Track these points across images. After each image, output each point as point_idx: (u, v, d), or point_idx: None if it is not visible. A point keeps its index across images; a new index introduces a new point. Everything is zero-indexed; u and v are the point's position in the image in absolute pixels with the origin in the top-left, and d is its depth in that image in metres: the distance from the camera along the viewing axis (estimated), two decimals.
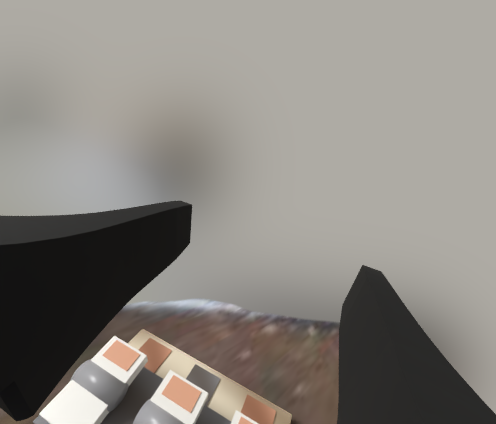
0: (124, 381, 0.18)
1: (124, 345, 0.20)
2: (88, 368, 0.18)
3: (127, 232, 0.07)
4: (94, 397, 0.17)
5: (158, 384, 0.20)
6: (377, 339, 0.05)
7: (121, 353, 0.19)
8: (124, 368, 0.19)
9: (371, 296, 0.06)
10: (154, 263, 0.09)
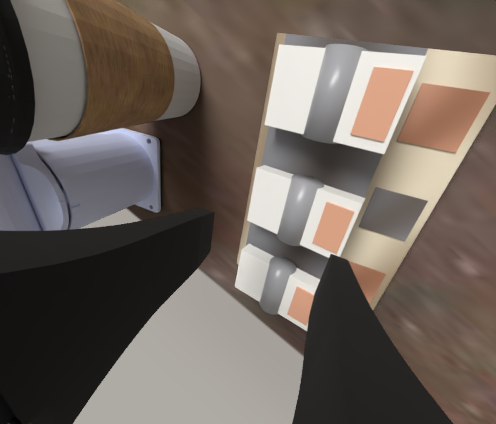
0: (335, 139, 0.11)
1: (401, 97, 0.09)
2: (342, 64, 0.10)
3: (155, 244, 0.07)
4: (307, 108, 0.11)
5: (362, 173, 0.13)
6: (330, 319, 0.06)
7: (383, 102, 0.09)
8: (355, 126, 0.10)
9: (331, 281, 0.07)
10: (178, 274, 0.09)
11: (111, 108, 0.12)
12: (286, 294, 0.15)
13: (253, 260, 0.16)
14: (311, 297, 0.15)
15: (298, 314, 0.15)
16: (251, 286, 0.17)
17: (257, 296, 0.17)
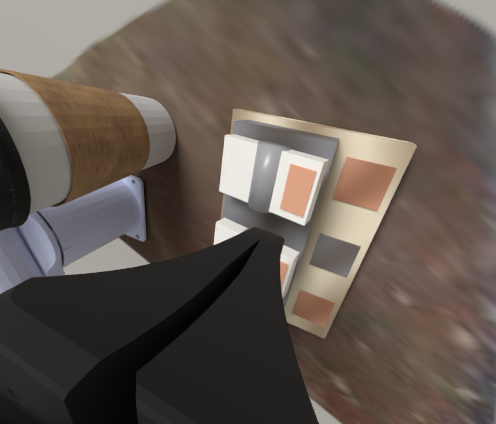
0: (270, 209, 0.14)
1: (310, 188, 0.12)
2: (267, 159, 0.12)
3: (227, 275, 0.06)
4: (249, 184, 0.14)
5: (301, 229, 0.16)
6: None
7: (299, 189, 0.12)
8: (283, 202, 0.13)
9: None
10: None
11: (93, 181, 0.15)
12: None
13: None
14: None
15: None
16: None
17: None
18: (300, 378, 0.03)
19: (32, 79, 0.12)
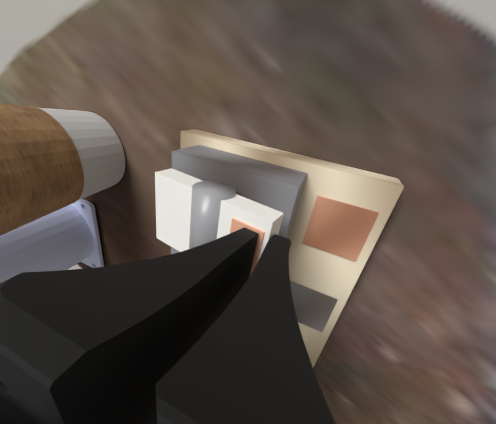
0: None
1: (258, 252, 0.09)
2: (203, 211, 0.09)
3: (220, 272, 0.06)
4: (187, 236, 0.11)
5: None
6: None
7: None
8: None
9: None
10: (230, 298, 0.08)
11: None
12: None
13: None
14: None
15: None
16: None
17: None
18: (318, 388, 0.03)
19: None
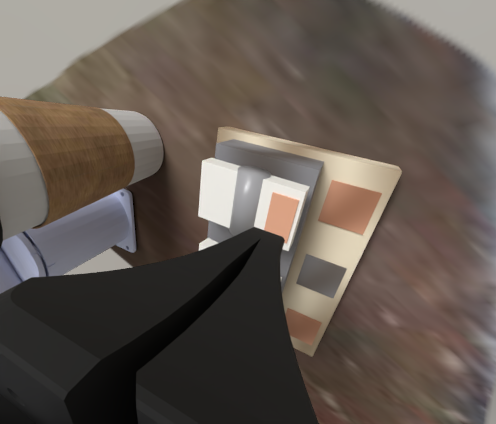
0: None
1: (293, 216, 0.12)
2: (249, 188, 0.12)
3: (227, 275, 0.06)
4: (230, 211, 0.13)
5: (284, 252, 0.15)
6: None
7: (282, 216, 0.12)
8: (266, 229, 0.13)
9: None
10: None
11: (73, 203, 0.14)
12: None
13: None
14: None
15: None
16: None
17: None
18: (300, 378, 0.03)
19: (6, 104, 0.12)
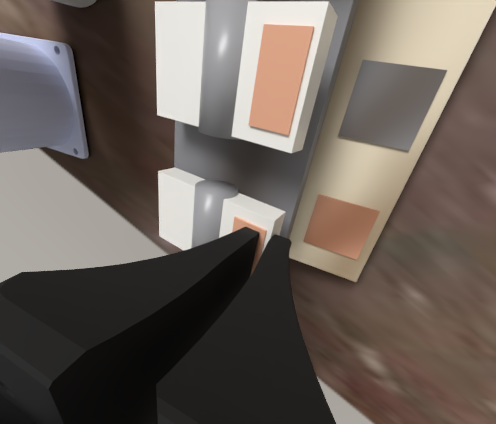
0: None
1: None
2: None
3: (220, 272, 0.06)
4: None
5: None
6: None
7: None
8: None
9: None
10: (230, 297, 0.08)
11: None
12: (222, 234, 0.10)
13: (174, 185, 0.10)
14: None
15: None
16: (178, 231, 0.11)
17: (187, 246, 0.11)
18: (319, 388, 0.03)
19: None
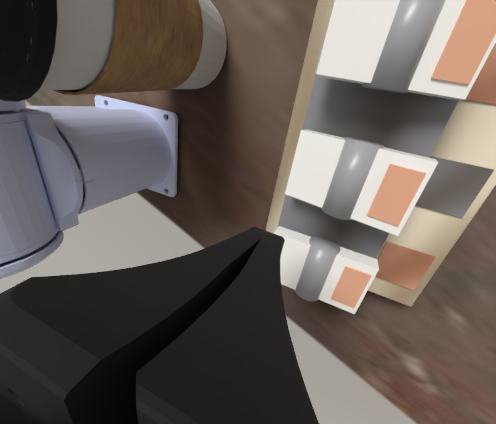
0: (411, 86, 0.09)
1: (495, 31, 0.08)
2: None
3: (227, 275, 0.06)
4: (381, 48, 0.09)
5: (426, 134, 0.11)
6: None
7: (473, 37, 0.08)
8: (437, 68, 0.09)
9: None
10: None
11: (139, 54, 0.10)
12: (330, 276, 0.14)
13: (289, 243, 0.14)
14: (362, 276, 0.13)
15: (345, 297, 0.14)
16: (285, 273, 0.15)
17: (292, 284, 0.15)
18: (300, 378, 0.03)
19: None
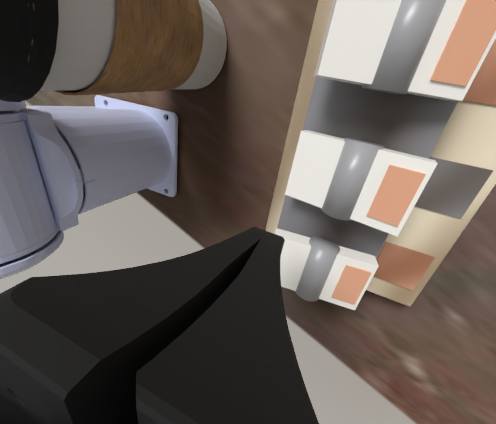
0: (410, 87, 0.09)
1: (491, 34, 0.08)
2: None
3: (227, 275, 0.06)
4: (382, 49, 0.09)
5: (426, 135, 0.11)
6: None
7: (470, 40, 0.09)
8: (436, 70, 0.09)
9: None
10: None
11: (139, 55, 0.10)
12: (331, 276, 0.14)
13: (290, 245, 0.14)
14: (362, 273, 0.13)
15: (345, 295, 0.14)
16: (285, 275, 0.15)
17: (293, 285, 0.15)
18: (300, 378, 0.03)
19: None
